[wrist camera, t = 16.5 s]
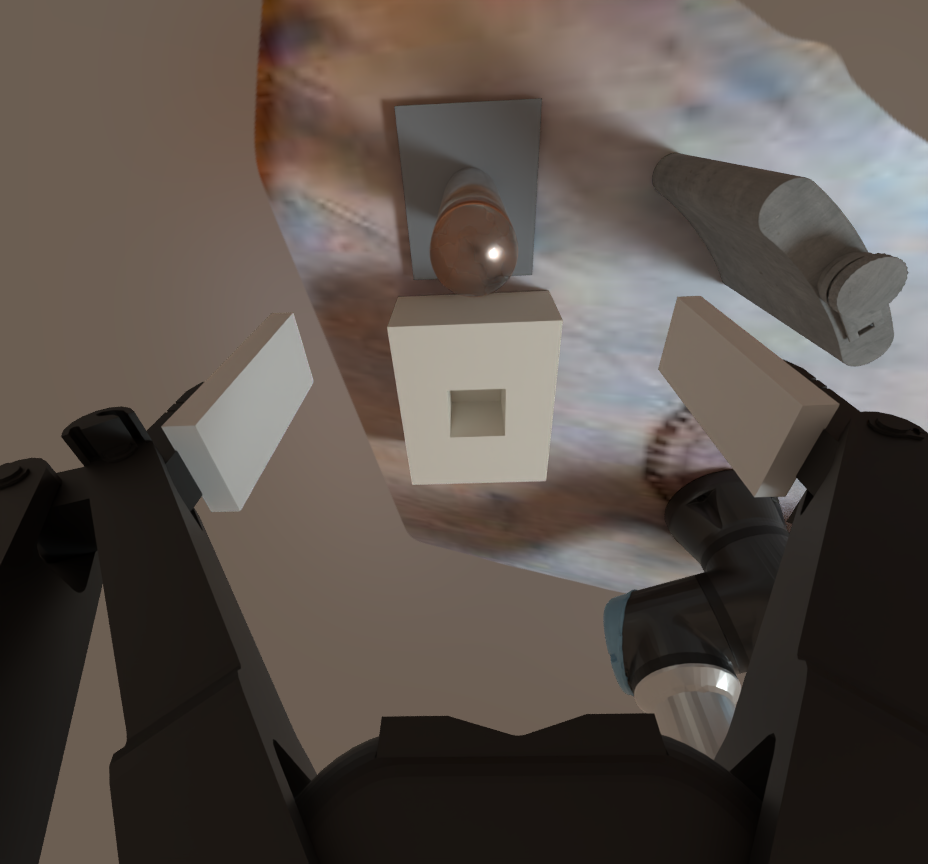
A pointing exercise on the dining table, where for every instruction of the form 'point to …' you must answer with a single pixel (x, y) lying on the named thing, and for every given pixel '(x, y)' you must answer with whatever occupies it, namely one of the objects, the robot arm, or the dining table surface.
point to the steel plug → (473, 236)
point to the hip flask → (788, 252)
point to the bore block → (476, 384)
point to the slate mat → (469, 165)
